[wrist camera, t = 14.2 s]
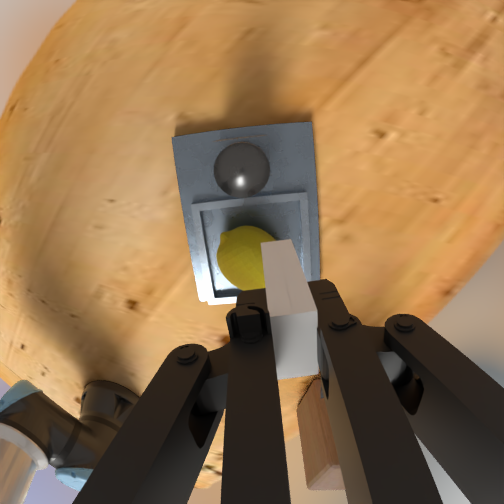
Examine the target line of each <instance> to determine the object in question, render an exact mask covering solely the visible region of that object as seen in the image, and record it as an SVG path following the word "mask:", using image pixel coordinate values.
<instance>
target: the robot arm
mask: <svg viewBox="0 0 504 504" xmlns="http://www.w3.org/2000/svg"><path fill="white" fill-rule="evenodd" d="M261 251H262V260H263V269H264V278H265V287H266V288H261V289H253V290H245V291H241V293H240V294H239V295H238V296H237V298H236V308H233V309H232V310H231V311H230V312H228V314H227V316H226V321H227V326H228V330H229V335H230V342H229V343H228V344H226V345H225V346H223V347H221V348H218V349H215V350H212V351H209V352H207V349H206V348H205V347H203V346H202V345H198V344H186V345H182V346H179V347H177V348H175V349H174V350H172V351H171V352H170V353H169V355H168V356H167V357H166V359H165V361H164V362H163V364H162V365H161V367H160V368H159V370H158V371H157V373H156V374H155V376H154V377H153V379H152V380H151V382H150V383H149V385H148V386H147V388H146V389H145V391H144V392H143V394H142V396H141V397H140V398H139V397H138V396H137V395H135V394H134V393H133V392H131V391H130V390H128V389H127V388H125V387H123V386H121V385H118V384H116V383H112V382H108V381H93V382H91V383H89V384H88V385H87V386H86V388H85V390H84V391H83V394H82V398H81V412H80V418H79V420H77V419H76V418H75V417H73V416H72V415H71V414H69V413H68V412H67V411H65V410H64V409H63V408H61V407H60V406H59V405H57V404H56V403H55V402H54V401H52V400H51V399H50V398H49V397H47V396H46V395H45V394H44V393H43V391H42V390H40V389H38V388H37V387H35V386H34V385H33V384H32V383H30V382H29V381H27V380H20V381H18V382H17V383H16V384H14V385H13V386H12V387H11V388H10V389H9V390H8V391H7V392H6V394H4V396H3V397H2V398H1V400H0V504H23V503H24V500H25V498H26V495H27V493H28V490H29V487H30V484H31V482H32V480H33V477H34V475H35V472H36V470H42V469H45V468H47V467H48V464H50V465H51V466H53V467H54V468H56V470H55V475H56V478H57V479H58V480H60V481H61V482H62V483H63V484H65V485H67V486H68V487H70V488H73V489H75V490H77V491H80V492H79V493H78V495H77V497H76V498H75V500H74V501H73V503H72V504H187V502H188V500H189V497H190V495H191V492H192V490H193V488H194V485H195V483H196V481H197V478H198V476H199V473H200V471H201V468H202V466H203V463H204V461H205V458H206V456H207V454H208V451H209V449H210V446H211V444H212V441H213V439H214V436H215V434H216V431H217V428H218V426H219V423H220V421H221V418H222V416H223V413H224V409H226V413H225V430H224V448H223V466H222V486H221V504H291V500H290V490H289V480H288V470H287V462H286V452H285V442H284V433H283V424H282V415H281V406H280V397H279V388H278V380H280V379H288V378H295V377H302V376H309V375H316V374H319V370H318V365H319V369H320V373H321V398H324V400H325V404H326V408H327V412H328V416H329V420H330V425H331V429H332V433H333V437H334V442H335V446H336V450H337V455H338V459H339V463H340V468H341V472H342V477H343V482H344V486H345V491H346V495H347V500H348V504H443V502H442V500H441V497H440V495H439V492H438V489H437V487H436V484H435V482H434V479H433V477H432V474H431V472H430V469H429V467H428V464H427V462H426V459H425V457H424V455H423V452H422V450H421V448H420V445H419V443H418V441H417V439H416V436H417V437H418V438H419V439H420V440H421V442H422V443H423V444H424V445H425V447H426V448H427V449H428V450H429V452H430V453H431V454H432V455H433V457H434V458H435V459H436V460H437V462H438V463H439V464H440V465H441V466H442V468H443V469H444V470H445V471H446V473H447V474H448V475H449V476H450V478H451V479H452V480H453V481H454V483H455V484H456V485H457V486H458V488H459V489H460V490H461V491H462V493H463V494H464V495H465V496H466V498H467V499H468V500H469V501H470V503H471V504H504V388H503V387H502V386H500V385H499V384H498V383H497V382H496V381H495V380H494V379H492V378H491V377H490V376H489V375H488V374H487V373H485V372H484V371H483V370H482V369H480V368H479V367H478V366H477V365H476V364H475V363H474V362H472V361H471V360H470V359H469V358H468V357H466V356H465V355H464V354H463V353H461V352H460V351H459V350H458V349H457V348H455V347H454V346H453V345H452V344H450V343H449V342H448V341H447V340H446V339H444V338H443V337H442V336H441V335H439V334H438V333H437V332H436V331H434V330H433V329H432V328H431V327H429V326H428V325H427V324H426V323H424V322H423V321H422V320H421V319H419V318H417V317H415V316H413V315H409V314H397V315H393V316H391V317H390V318H388V319H387V321H386V322H385V327H371V326H365V325H362V324H361V322H360V320H359V319H358V318H357V317H356V316H353V315H351V314H349V312H348V310H347V308H346V306H345V304H344V302H343V300H342V298H341V297H340V295H339V293H338V291H337V289H336V287H335V285H334V284H333V283H332V282H330V281H329V280H327V279H323V280H316V281H308V282H307V280H306V278H305V275H304V272H303V270H302V267H301V264H300V262H299V259H298V256H297V254H296V251H295V248H294V246H293V243H292V240H291V239H287V240H279V241H272V242H264V243H261ZM321 398H320V399H321ZM414 433H415V434H416V436H415V434H414Z"/></svg>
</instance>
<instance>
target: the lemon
mask: <svg viewBox="0 0 504 504" xmlns="http://www.w3.org/2000/svg"><path fill="white" fill-rule="evenodd" d="M272 241H276V240H275V239H274V238H273V237H272V236H271V235H269V234H268V233H267V232H265V231H264V230H262V229H260V228H258V227H254V226H246V225H245V226H240V227H237V228H235V229H233V230H231V231H227V232H222V233H221V234H220V244H219V247H218V250H217V254H216V258H217V263H218V267H219V269H220V271H221V273H222V274H223V276H224V277H225V278H226V279H227V280H228V281H229V282H230V283H231V284H232V285H234V286H235V287H237V288H239V289H241V290H243V291H245V290H253V289H261V288H266V287H265V278H264V269H263V260H262V251H261V243H264V242H272Z"/></svg>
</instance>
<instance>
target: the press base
mask: <svg viewBox="0 0 504 504" xmlns="http://www.w3.org/2000/svg"><path fill="white" fill-rule="evenodd" d="M237 142H248V143H252V144H254V145H256V146H257V147H259V148H260V149H261V150H262V151H263V152H264V153H265V155H266V157H267V159H268V161H269V164H270V176H269V180H268V182H267V184H266V185H265V187H264V188H263V189H262V190H261V191H260V192H259V193H257V194H256V195H253V196H251V197H247V198H237V197H233V196H230V195H228V194H227V193H225V192H224V191H223V190H222V189H221V188H220V187H219V186H218V184H217V182H216V180H215V177H214V163H215V160H216V158H217V156H218V155H219V153H220V152H221V151H222V150H223V149H225V148H226V147H227V146H229V145H231V144H233V143H237ZM172 144H173V152H174V159H175V165H176V172H177V179H178V185H179V192H180V198H181V204H182V210H183V216H184V221H185V227H186V233H187V238H188V244H189V249H190V254H191V260H192V265H193V270H194V275H195V280H196V285H197V290H198V295H199V299H200V301H208V304H209V305H214V304H226V303H236V298H237V296H238V295H239V294H240V293H241V291H243V290H241V289H239V288H237V287H235V286H234V285H232V284H231V283H230V282H229V281H228V280H227V279H226V278H225V277H224V276H223V274H222V273H221V271H220V269H219V267H218V263H217V258H216V254H217V250H218V247H219V244H220V234H221V233H222V232H227V231H231V230H233V229H235V228H237V227H240V226H245V225H246V226H254V227H258V228H260V229H262V230H264V231H265V232H267V233H268V234H269V235H271V236H272V237H273V238H274V239H275V240H276V241H279V240H287V239H291V240H292V243H293V246H294V248H295V251H296V254H297V256H298V259H299V262H300V264H301V267H302V270H303V272H304V275H305V278H306V280H307V282H308V281H316V280H320V255H319V224H318V203H317V185H316V169H315V155H314V142H313V131H312V122H298V123H283V124H271V125H260V126H249V127H240V128H232V129H224V130H216V131H209V132H202V133H195V134H189V135H183V136H177V137H172Z"/></svg>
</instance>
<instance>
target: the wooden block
mask: <svg viewBox="0 0 504 504" xmlns="http://www.w3.org/2000/svg"><path fill="white" fill-rule="evenodd" d="M320 398H321V380H320V379H317V380H314V381H313V382H312V384H311V386H310V387H309V389H308V391H307V393H306V394H305V396H304V398H303V399H302V401H301V403H300V404H299V406H298V408H297V417H298V424H299V432H300V439H301V446H302V454H303V461H304V469H305V475H306V484H307V488H308V489H309V490H345V486H344V482H343V477H342V472H341V468H340V463H339V459H338V455H337V450H336V446H335V442H334V437H333V433H332V429H331V425H330V420H329V416H328V412H327V408H326V404H325V400H324V398H321V399H320Z"/></svg>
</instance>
